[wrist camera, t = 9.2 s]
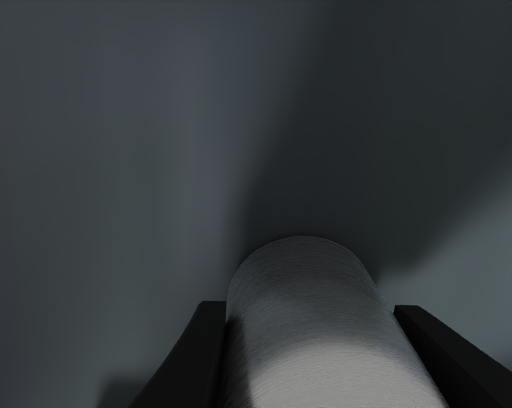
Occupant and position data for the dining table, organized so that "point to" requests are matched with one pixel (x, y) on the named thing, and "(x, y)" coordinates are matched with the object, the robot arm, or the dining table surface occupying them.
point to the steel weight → (316, 335)
